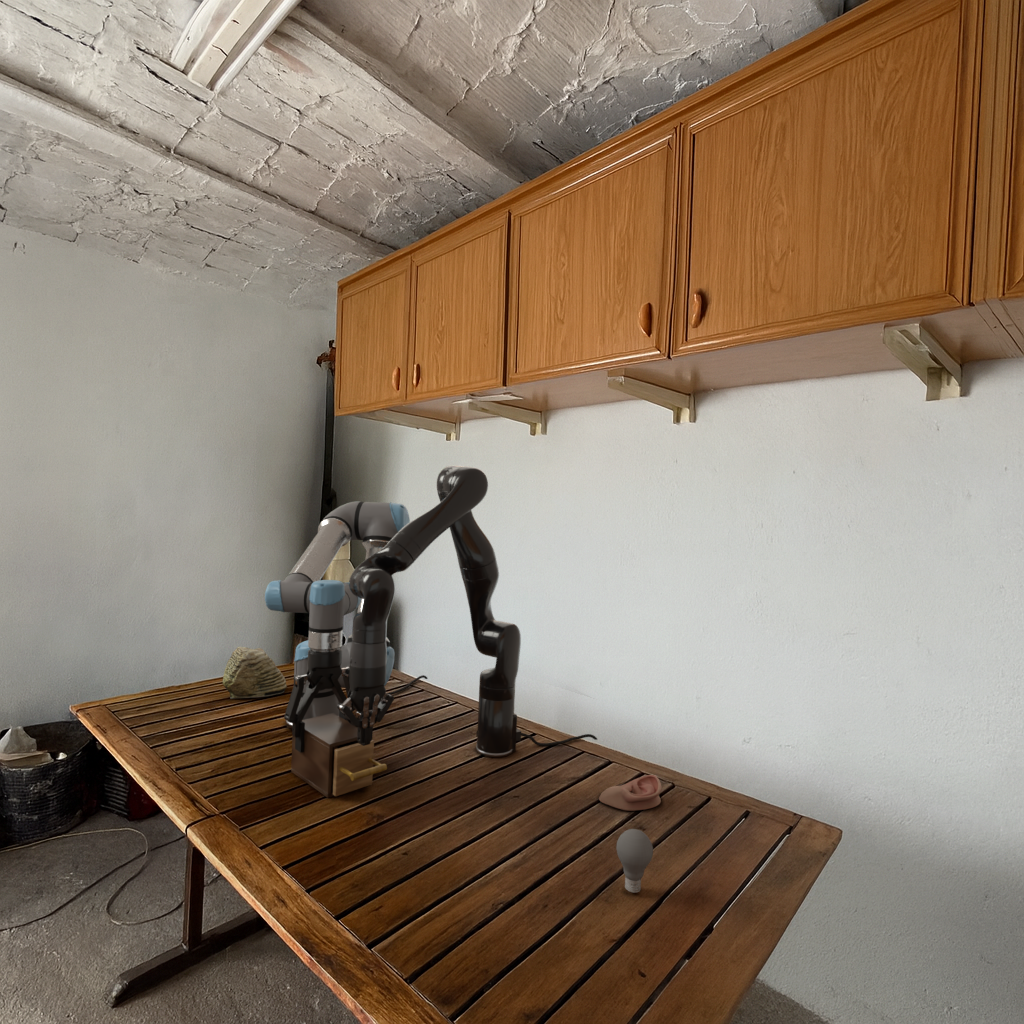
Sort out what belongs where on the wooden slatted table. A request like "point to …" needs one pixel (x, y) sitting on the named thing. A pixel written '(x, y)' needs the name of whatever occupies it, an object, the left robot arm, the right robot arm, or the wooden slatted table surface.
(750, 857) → the wooden slatted table surface
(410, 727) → the wooden slatted table surface
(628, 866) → the light bulb
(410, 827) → the wooden slatted table surface
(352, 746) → the drawer
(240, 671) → the fossil
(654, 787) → the anatomical model
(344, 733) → the cabinet
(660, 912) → the wooden slatted table surface
